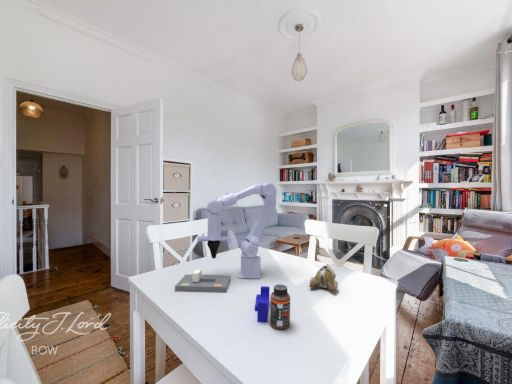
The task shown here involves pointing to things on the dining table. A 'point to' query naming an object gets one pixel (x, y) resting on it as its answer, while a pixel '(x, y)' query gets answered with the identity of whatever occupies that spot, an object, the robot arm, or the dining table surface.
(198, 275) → the knob
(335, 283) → the ceramic sculpture
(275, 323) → the supplement bottle
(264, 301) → the blue stepped block
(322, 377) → the dining table surface
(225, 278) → the switch panel
